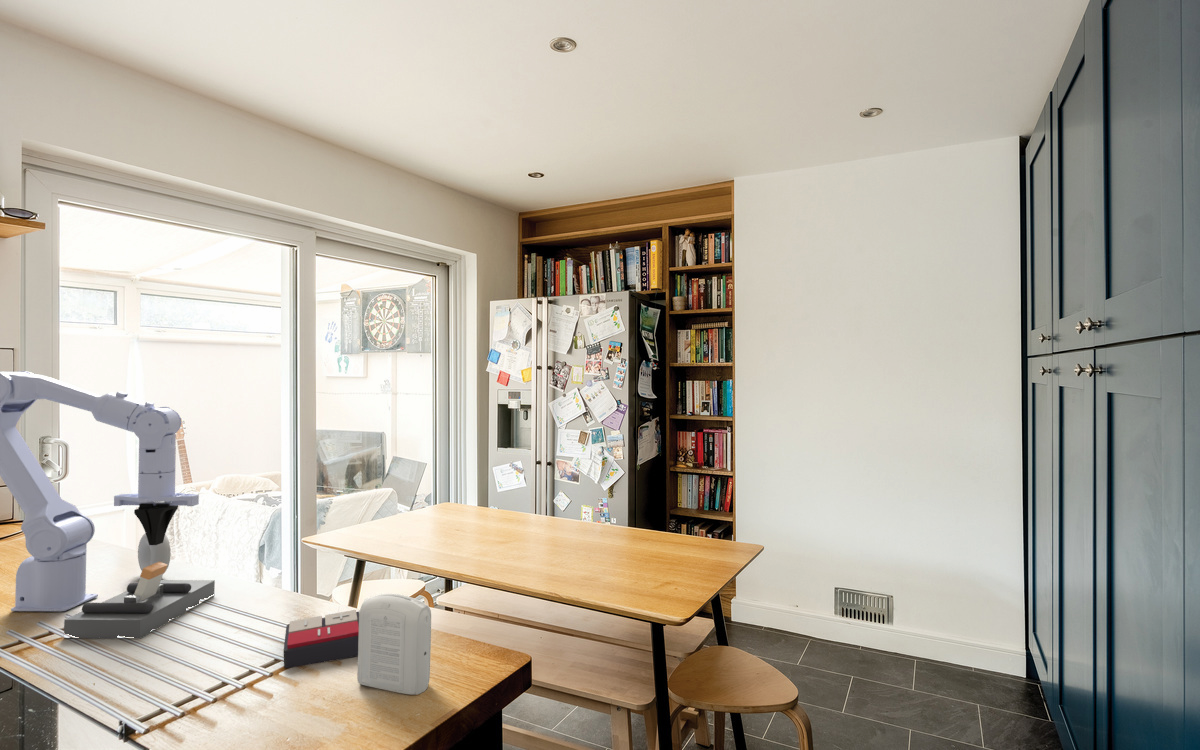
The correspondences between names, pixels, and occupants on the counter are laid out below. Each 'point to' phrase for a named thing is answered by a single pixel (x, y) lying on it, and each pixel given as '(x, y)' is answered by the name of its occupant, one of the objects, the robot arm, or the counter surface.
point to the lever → (150, 580)
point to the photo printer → (394, 643)
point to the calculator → (321, 639)
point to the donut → (153, 552)
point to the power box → (137, 610)
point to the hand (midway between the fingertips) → (156, 543)
